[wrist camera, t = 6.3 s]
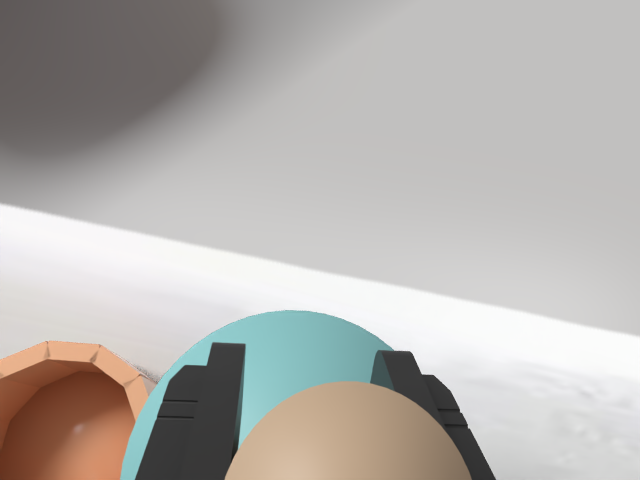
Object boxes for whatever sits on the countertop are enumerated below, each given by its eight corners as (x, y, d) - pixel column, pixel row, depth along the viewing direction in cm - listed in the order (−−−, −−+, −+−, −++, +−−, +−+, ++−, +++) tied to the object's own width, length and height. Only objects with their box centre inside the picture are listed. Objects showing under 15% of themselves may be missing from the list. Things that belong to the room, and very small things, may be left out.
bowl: (-41, 544, 21) (-115, 570, 17) (20, 352, 24) (-28, 334, 20) (153, 551, 21) (129, 577, 17) (185, 364, 25) (171, 350, 21)
